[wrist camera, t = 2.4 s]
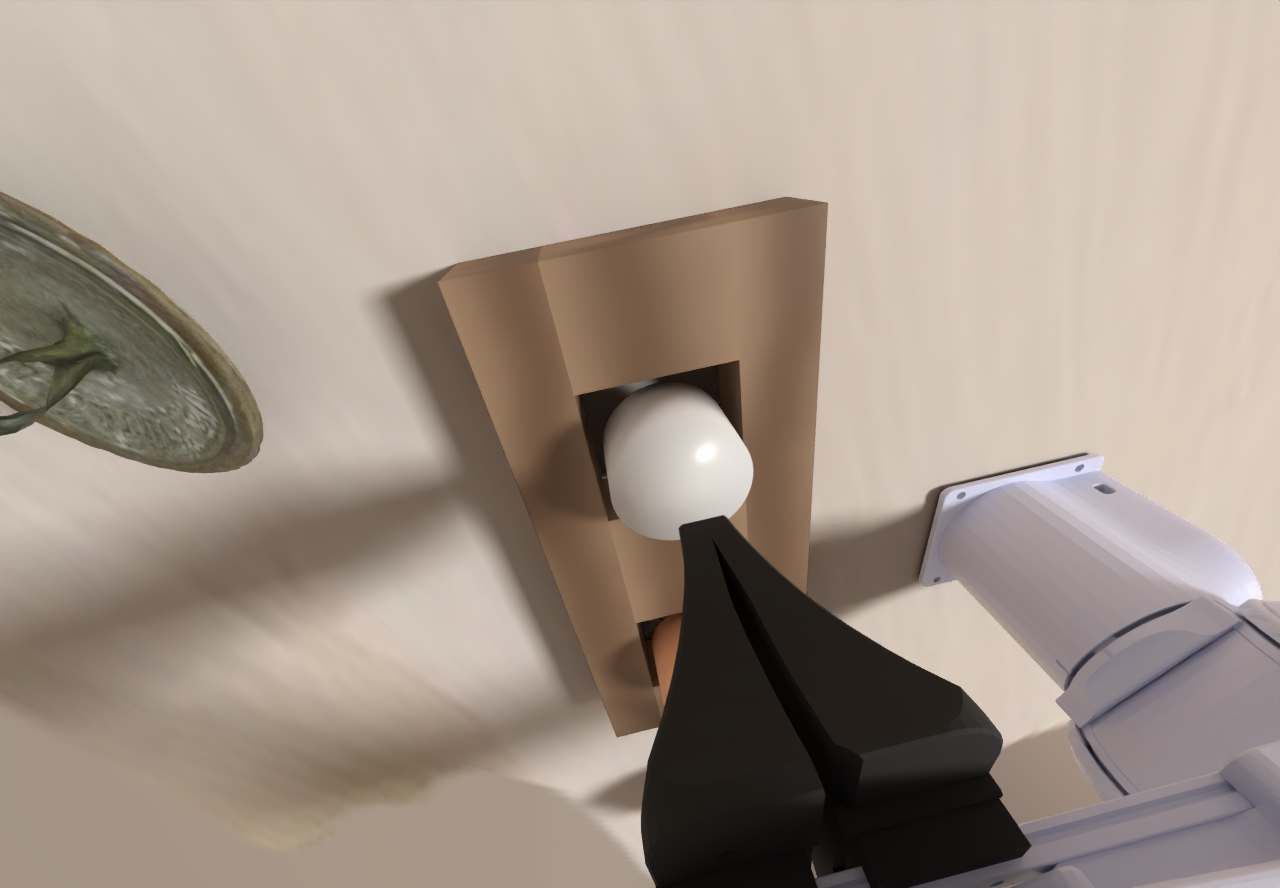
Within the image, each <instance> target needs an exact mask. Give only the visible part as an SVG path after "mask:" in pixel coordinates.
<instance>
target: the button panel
mask: <svg viewBox="0 0 1280 888" xmlns="http://www.w3.org/2000/svg"><path fill="white" fill-rule="evenodd" d="M827 211H828V203H826V202H819V201H812V200H805V199H799V198H792V197H783V198H778V199H773V200H768V201H763V202H758V203H753V204H748V205H743V206H738V207H733V208H729V209H724V210H719V211H714V212H709V213H704V214H699V215H694V216H689V217H684V218H679V219H674V220H669V221H664V222H659V223H654V224H649V225H645V226H640V227H635V228H630V229H625V230H620V231H615V232H610V233H605V234H600V235H595V236H590V237H585V238H580V239H575V240H570V241H565V242H561V243H556V244H551V245H546V246H541V247H536V248H531V249H526V250H521V251H516V252H511V253H506V254H501V255H496V256H491V257H486V258H481V259H477V260H472V261H467V262H462V263H457V264H456V265H455V266H454V267H453V268H452V269H451V270H450V271H449V272H448V273H447V274H446V275H445V276H443V277H442V278H441V279H440V280H439V281H438V285H439V287H440V290H441V292H442V295H443V298H444V300H445V303H446V305H447V308H448V310H449V313H450V315H451V318H452V320H453V323H454V325H455V328H456V331H457V333H458V336H459V338H460V341H461V343H462V346H463V348H464V351H465V353H466V356H467V358H468V361H469V364H470V366H471V369H472V371H473V374H474V376H475V379H476V381H477V384H478V386H479V389H480V391H481V394H482V396H483V399H484V402H485V404H486V407H487V409H488V412H489V414H490V417H491V419H492V422H493V424H494V427H495V429H496V432H497V435H498V437H499V440H500V442H501V445H502V447H503V450H504V452H505V455H506V457H507V460H508V462H509V465H510V467H511V470H512V473H513V475H514V478H515V480H516V483H517V485H518V488H519V490H520V493H521V495H522V498H523V500H524V503H525V506H526V508H527V511H528V513H529V516H530V518H531V521H532V523H533V526H534V528H535V531H536V533H537V536H538V539H539V541H540V544H541V546H542V549H543V551H544V554H545V556H546V559H547V561H548V564H549V566H550V569H551V571H552V574H553V577H554V579H555V582H556V584H557V587H558V589H559V592H560V594H561V597H562V599H563V602H564V604H565V607H566V610H567V612H568V615H569V617H570V620H571V622H572V625H573V627H574V630H575V632H576V635H577V637H578V640H579V642H580V645H581V648H582V650H583V653H584V655H585V658H586V660H587V663H588V665H589V668H590V670H591V673H592V675H593V678H594V681H595V683H596V686H597V688H598V691H599V693H600V696H601V698H602V701H603V703H604V706H605V708H606V711H607V714H608V716H609V719H610V721H611V724H612V726H613V729H614V731H615V734H616V736H617V737H620V736H624V735H628V734H632V733H636V732H640V731H644V730H649V729H653V728H657V727H659V725H660V721H661V718H662V714H663V710H664V706H665V705H664V703H663V700H662V694H661V689H660V684H659V679H658V674H657V668H656V663H655V658H654V653H653V648H652V640H648V641H645V640H644V636H643V632H642V629H641V625H640V622H643V621H648V620H652V619H656V618H660V617H664V616H669V615H673V614H677V613H681V612H682V610H683V596H684V560H683V554H682V548H681V542H680V540H659V539H653V538H649V537H646V536H643V535H641V534H639V533H637V532H635V531H633V530H632V529H630V528H629V527H627V526H626V525H625V524H624V523H623V522H622V521H621V519H620V518H619V517H618V516H617V514H616V512H615V510H614V508H613V505H612V502H611V496H610V490H609V483H608V479H604V480H602V476H601V473H600V469H599V465H598V461H597V457H596V454H595V450H594V446H593V442H592V438H591V435H590V431H589V427H588V423H587V419H586V416H585V412H584V408H583V404H582V400H581V396H580V394H584V393H589V392H593V391H598V390H603V389H607V388H612V387H617V386H621V385H626V384H630V383H635V382H640V381H644V380H649V379H654V378H658V377H663V376H667V375H672V374H677V373H681V372H686V371H691V370H695V369H700V368H704V367H709V366H714V365H717V366H718V379H719V392H720V405H721V410H722V411H723V413H724V414H725V416H726V417H727V419H728V420H729V422H730V423H731V425H732V426H733V428H734V429H735V431H736V432H737V434H738V435H739V437H740V438H741V440H742V441H743V443H744V444H745V446H746V448H747V449H748V451H749V453H750V456H751V459H752V463H753V480H752V485H751V488H750V491H749V493H748V495H747V497H746V499H745V501H744V502H743V504H742V505H741V507H740V508H739V509H738V510H737V511H736V513H735V514H734V515H733V516H731V517H730V518H729V520H730V522H731V523H732V524H733V525H734V526H735V528H736V529H737V530H738V531H739V532H740V533H741V534H742V535H743V536H744V538H745V539H746V540H747V541H748V542H749V543H750V544H751V545H752V546H753V547H754V548H755V549H756V550H757V551H758V552H759V553H760V554H761V555H762V556H763V557H764V558H765V559H766V560H767V561H768V562H769V563H770V564H771V565H772V566H774V567H775V568H776V569H777V570H778V571H779V572H780V573H781V574H782V575H783V576H785V577H786V578H787V579H788V580H789V581H790V582H792V583H793V584H794V585H795V586H796V587H797V588H799V589H800V590H801V591H802V592H804V593H805V594H806V592H807V574H808V556H809V537H810V519H811V501H812V483H813V465H814V447H815V429H816V411H817V392H818V374H819V356H820V338H821V320H822V302H823V284H824V266H825V248H826V229H827Z"/></svg>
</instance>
